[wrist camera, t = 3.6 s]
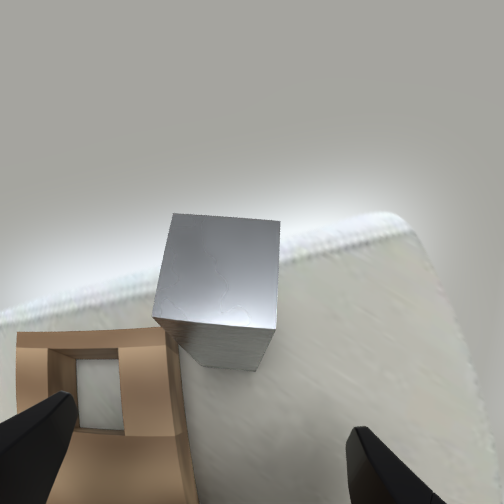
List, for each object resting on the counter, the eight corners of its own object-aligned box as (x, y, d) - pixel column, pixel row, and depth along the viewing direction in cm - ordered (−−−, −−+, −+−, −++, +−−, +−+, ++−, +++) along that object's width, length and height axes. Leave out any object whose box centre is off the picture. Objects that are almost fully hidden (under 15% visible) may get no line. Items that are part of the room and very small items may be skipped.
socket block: (216, 576, 12) (212, 603, 8) (79, 560, 11) (57, 577, 7) (177, 340, 20) (164, 326, 17) (46, 344, 19) (17, 331, 16)
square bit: (255, 371, 20) (276, 328, 9) (201, 366, 20) (151, 316, 9) (259, 320, 21) (280, 221, 10) (207, 315, 21) (173, 213, 10)
